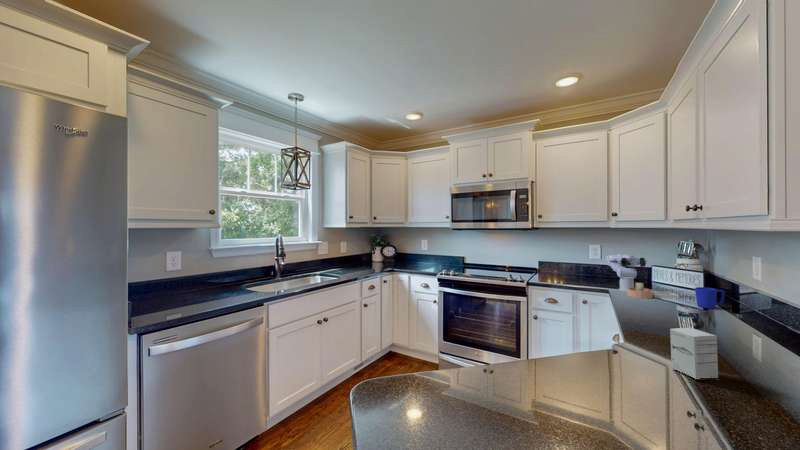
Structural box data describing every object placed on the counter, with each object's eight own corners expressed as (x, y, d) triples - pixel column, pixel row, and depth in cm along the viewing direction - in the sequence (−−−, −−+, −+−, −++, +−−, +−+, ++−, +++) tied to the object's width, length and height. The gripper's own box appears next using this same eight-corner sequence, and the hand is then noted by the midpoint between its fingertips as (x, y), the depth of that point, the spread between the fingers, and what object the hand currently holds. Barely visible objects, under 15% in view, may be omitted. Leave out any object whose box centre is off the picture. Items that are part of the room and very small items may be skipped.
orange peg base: (624, 294, 196) (624, 287, 196) (648, 295, 191) (648, 288, 191) (631, 298, 184) (630, 291, 184) (657, 299, 179) (656, 292, 180)
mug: (731, 310, 155) (730, 290, 155) (703, 309, 157) (702, 290, 157) (718, 306, 163) (717, 287, 163) (691, 305, 165) (690, 287, 165)
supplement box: (670, 369, 93) (668, 328, 93) (692, 368, 93) (690, 326, 94) (696, 381, 85) (693, 336, 86) (719, 379, 86) (717, 334, 86)
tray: (646, 294, 195) (646, 290, 195) (670, 295, 190) (670, 291, 190) (654, 298, 183) (654, 294, 183) (679, 299, 179) (679, 295, 179)
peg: (634, 295, 190) (634, 282, 190) (642, 295, 189) (642, 282, 189) (637, 296, 186) (636, 283, 187) (645, 296, 185) (644, 283, 185)
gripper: (616, 254, 202) (622, 257, 189) (642, 254, 197) (651, 257, 184) (616, 265, 202) (623, 268, 190) (642, 265, 197) (651, 269, 184)
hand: (637, 263), depth 187 cm, fingers open, 7 cm apart
